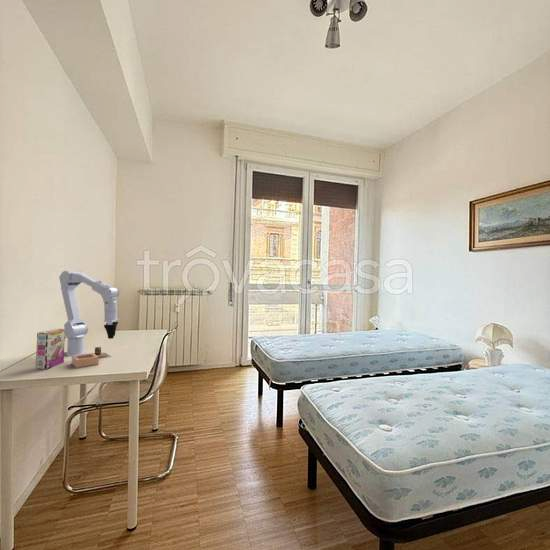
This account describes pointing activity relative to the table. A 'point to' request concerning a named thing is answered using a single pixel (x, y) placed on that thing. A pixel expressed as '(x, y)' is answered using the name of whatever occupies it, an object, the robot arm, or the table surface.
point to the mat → (106, 356)
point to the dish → (85, 360)
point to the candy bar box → (50, 348)
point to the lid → (99, 353)
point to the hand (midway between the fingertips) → (111, 337)
